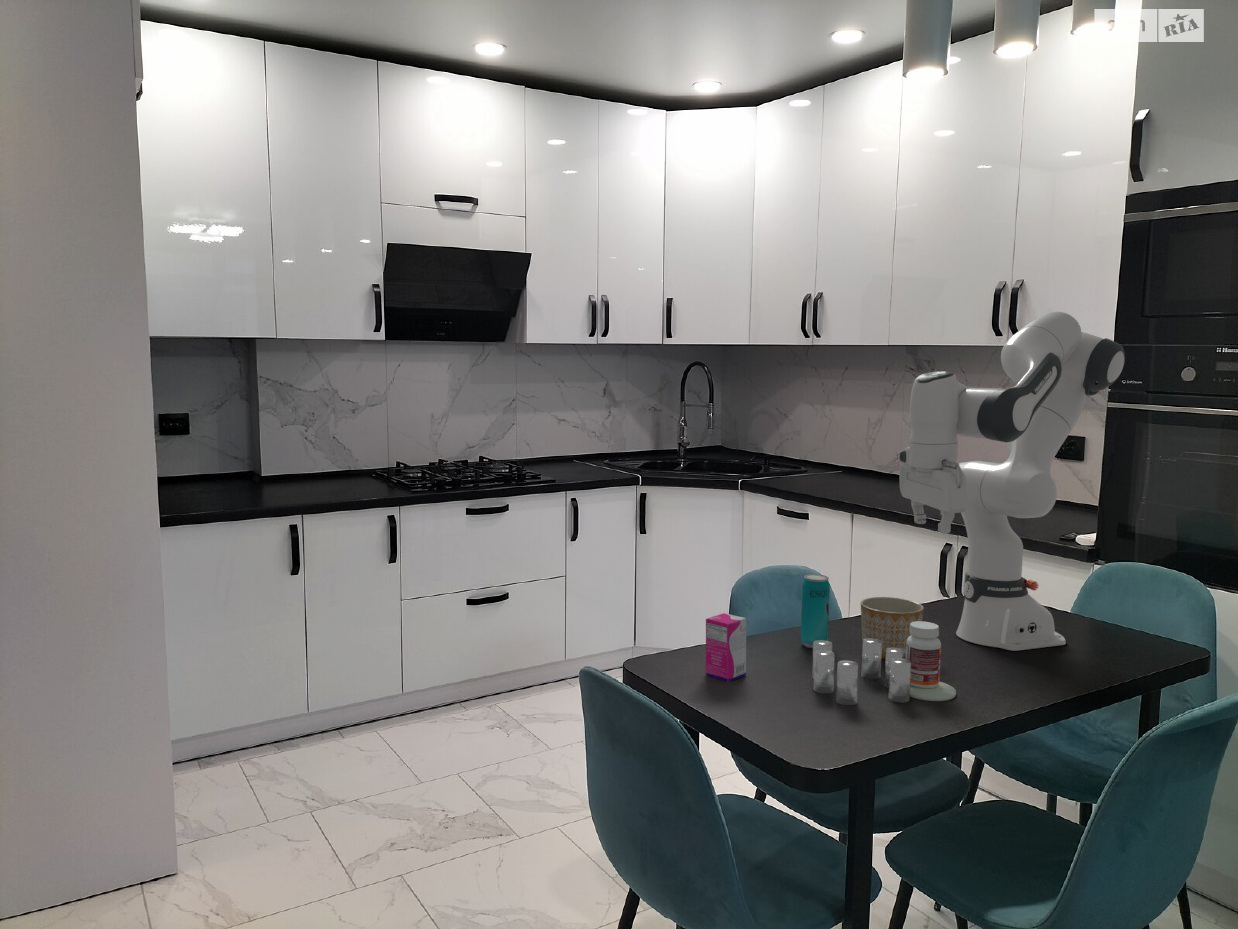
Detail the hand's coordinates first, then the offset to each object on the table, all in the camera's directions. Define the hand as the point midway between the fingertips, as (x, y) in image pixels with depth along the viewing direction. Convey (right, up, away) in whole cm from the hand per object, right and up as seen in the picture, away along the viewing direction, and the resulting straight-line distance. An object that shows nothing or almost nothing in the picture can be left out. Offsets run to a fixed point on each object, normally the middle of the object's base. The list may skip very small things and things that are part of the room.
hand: (931, 528), depth 175 cm
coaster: (-3, -30, -7) cm, 31 cm away
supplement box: (-40, -29, 0) cm, 49 cm away
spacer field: (-16, -30, -6) cm, 34 cm away
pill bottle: (-4, -29, -5) cm, 30 cm away
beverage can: (-19, -27, +20) cm, 38 cm away
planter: (-4, -28, +15) cm, 32 cm away
